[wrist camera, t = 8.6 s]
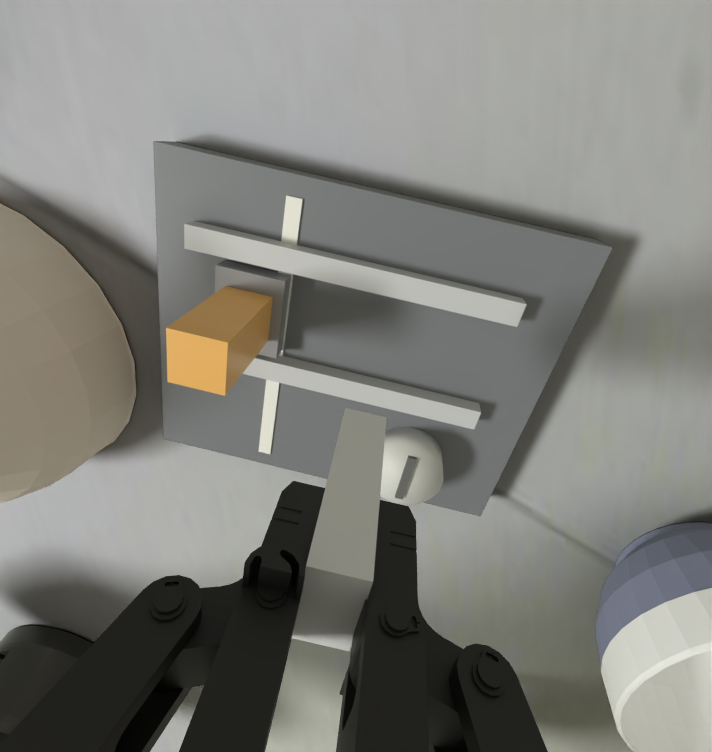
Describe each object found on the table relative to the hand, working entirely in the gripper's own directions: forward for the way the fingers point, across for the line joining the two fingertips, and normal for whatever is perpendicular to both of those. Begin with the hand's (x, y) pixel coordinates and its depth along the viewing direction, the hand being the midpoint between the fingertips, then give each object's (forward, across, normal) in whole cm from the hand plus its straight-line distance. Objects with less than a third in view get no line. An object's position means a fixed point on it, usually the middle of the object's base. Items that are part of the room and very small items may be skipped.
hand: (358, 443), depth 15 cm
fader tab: (+9, -7, +1) cm, 11 cm away
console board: (+11, -1, -1) cm, 11 cm away
